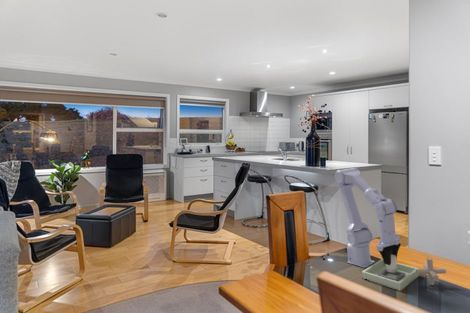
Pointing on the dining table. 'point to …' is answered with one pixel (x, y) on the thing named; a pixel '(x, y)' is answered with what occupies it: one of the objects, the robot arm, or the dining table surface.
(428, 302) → the dining table surface
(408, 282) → the walled box
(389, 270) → the pvc coupling
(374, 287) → the dining table surface
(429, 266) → the grey toy jack
